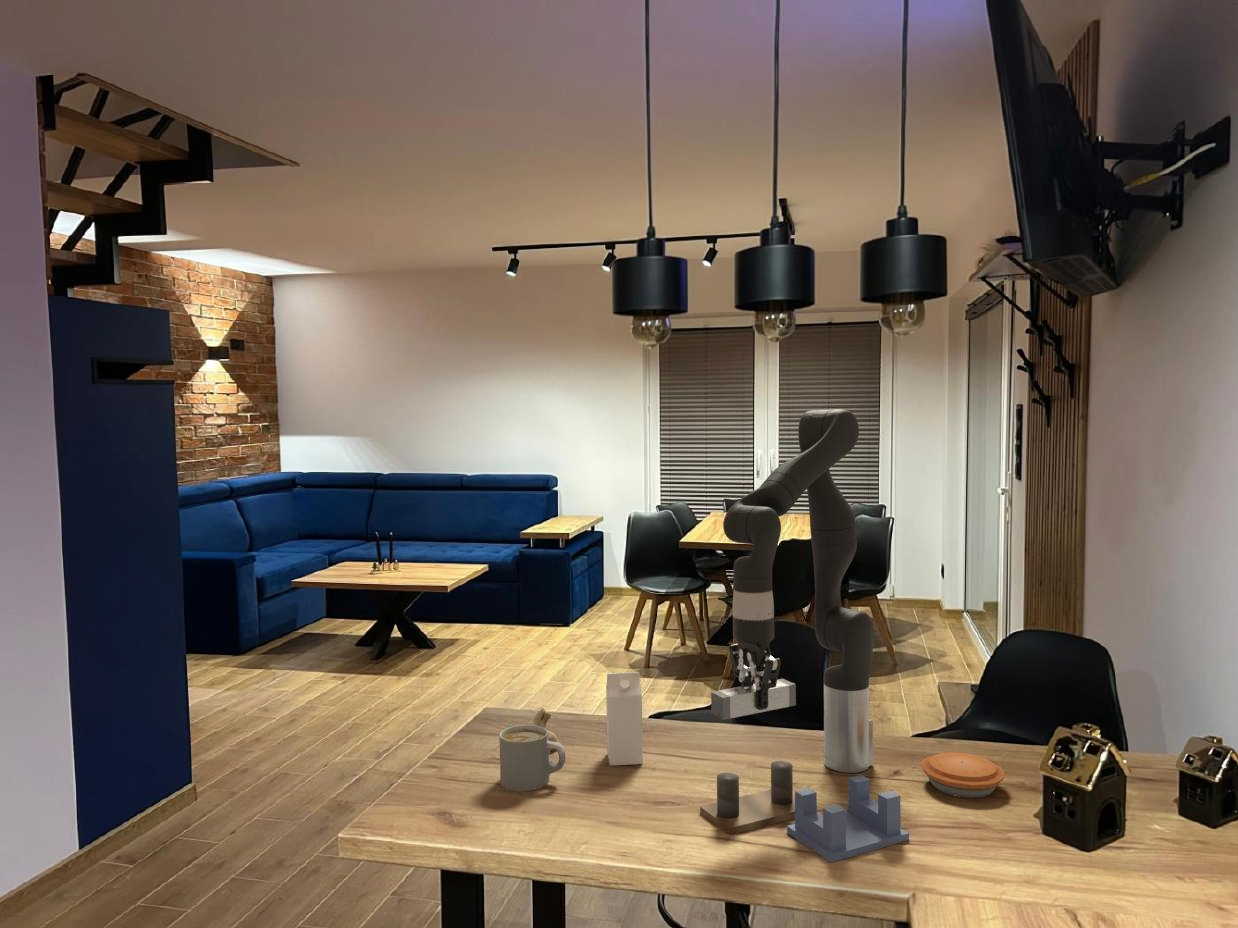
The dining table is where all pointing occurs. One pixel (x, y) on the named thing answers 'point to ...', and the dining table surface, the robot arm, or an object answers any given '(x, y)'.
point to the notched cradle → (848, 822)
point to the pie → (962, 774)
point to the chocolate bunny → (544, 724)
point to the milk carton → (624, 718)
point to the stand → (752, 802)
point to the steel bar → (751, 699)
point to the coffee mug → (527, 757)
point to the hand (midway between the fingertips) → (754, 704)
